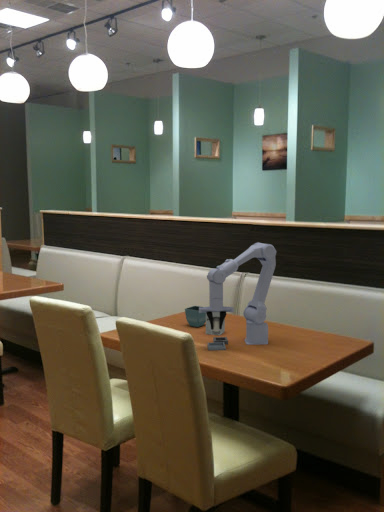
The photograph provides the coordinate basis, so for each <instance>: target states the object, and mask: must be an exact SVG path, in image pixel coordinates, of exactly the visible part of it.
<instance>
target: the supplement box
mask: <svg viewBox="0 0 384 512" xmlns="http://www.w3.org/2000/svg"><path fill="white" fill-rule="evenodd" d="M208 307H210V305H208ZM212 314H213V317H220V312H212ZM225 319H226V318H225ZM225 319H224V321H223V324H222V329H220V334H219V335H218V336H221V335H222V334H224V333H225V330H226V329H225V328H226V324H225V323H226V320H225ZM205 335H212V336H215V335H214V334H213V330H211V324H210V321H209V318H208V316H207V314H206V322H205Z"/></svg>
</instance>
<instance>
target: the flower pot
mask: <svg viewBox="0 0 384 512" xmlns="http://www.w3.org/2000/svg"><path fill="white" fill-rule="evenodd" d="M199 307H201V305H200V306H199V305H198V306H197V305H194V306H193V305H192V306H190V307H186V308H184V314H185V319H186V321H187V323H188V326H190V327H196V328H199V327H202V326H204V325H206V312H202V313H199Z"/></svg>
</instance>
